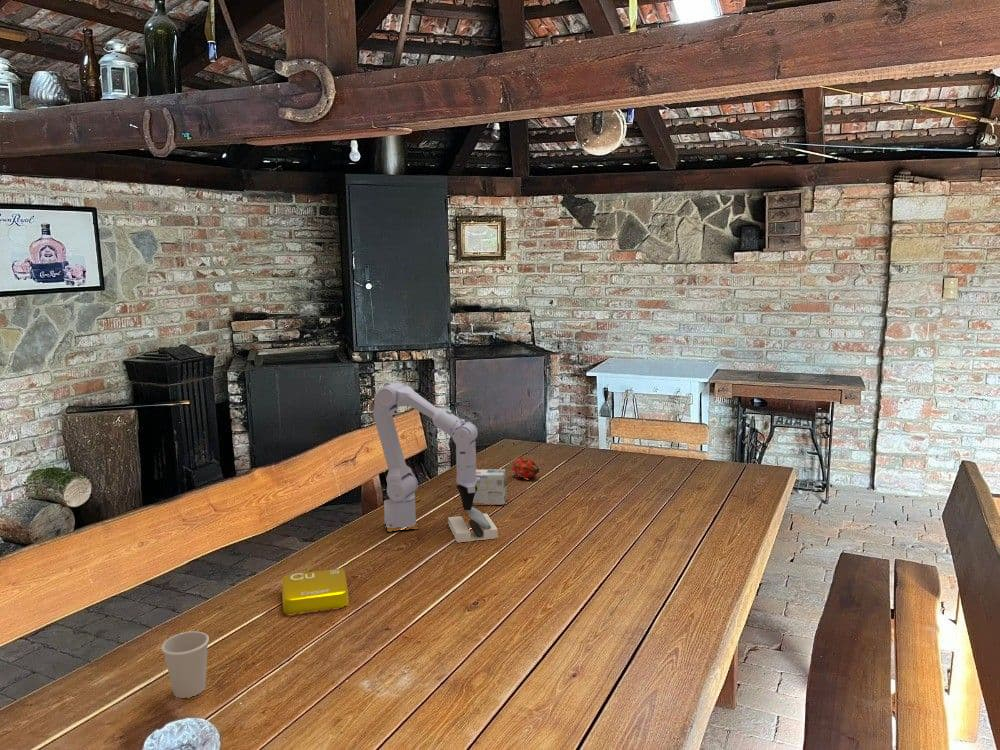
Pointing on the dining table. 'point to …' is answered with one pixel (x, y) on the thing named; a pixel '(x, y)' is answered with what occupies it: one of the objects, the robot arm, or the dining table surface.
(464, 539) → the base
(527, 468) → the dragon fruit
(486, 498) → the light bulb box
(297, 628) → the dining table surface
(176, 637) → the dixie cup
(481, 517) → the duct cover
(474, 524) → the dark grey rod
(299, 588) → the element tile
